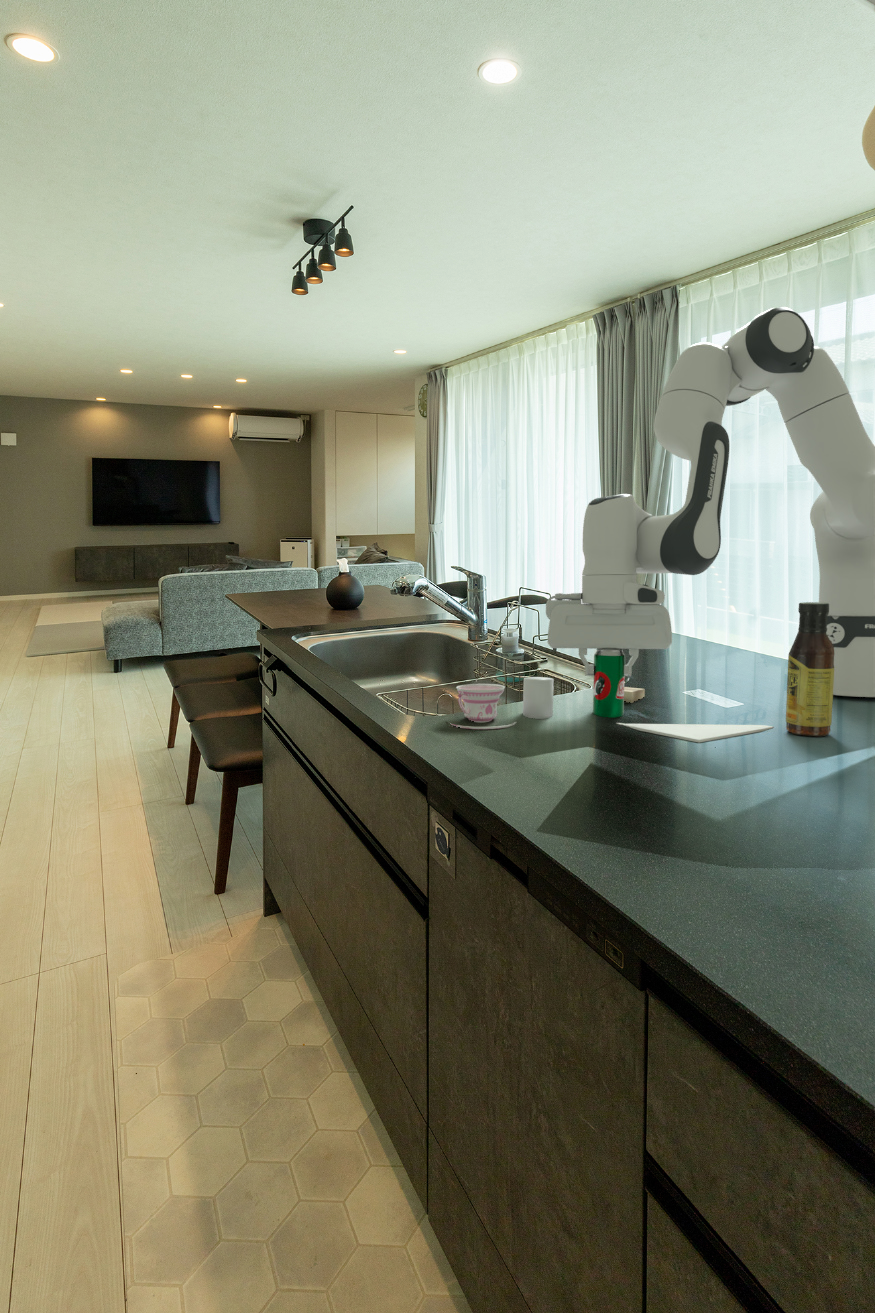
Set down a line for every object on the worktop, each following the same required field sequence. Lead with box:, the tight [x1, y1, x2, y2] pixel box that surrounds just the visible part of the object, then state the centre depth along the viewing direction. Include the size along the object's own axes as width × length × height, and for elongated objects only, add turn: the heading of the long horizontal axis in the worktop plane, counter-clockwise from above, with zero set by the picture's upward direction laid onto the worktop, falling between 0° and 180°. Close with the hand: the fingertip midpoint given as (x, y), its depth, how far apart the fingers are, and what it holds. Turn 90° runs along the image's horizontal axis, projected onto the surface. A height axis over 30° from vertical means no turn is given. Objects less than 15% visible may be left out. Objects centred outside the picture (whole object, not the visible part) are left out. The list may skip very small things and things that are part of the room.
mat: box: [616, 722, 774, 743], centre depth 118 cm, size 18×18×1 cm
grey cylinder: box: [522, 676, 555, 720], centre depth 124 cm, size 5×5×7 cm
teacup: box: [449, 683, 517, 730], centre depth 122 cm, size 12×12×6 cm
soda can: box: [592, 649, 626, 719], centre depth 124 cm, size 5×5×12 cm
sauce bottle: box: [785, 601, 834, 737], centre depth 111 cm, size 7×6×20 cm
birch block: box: [624, 686, 646, 704], centre depth 134 cm, size 5×5×4 cm
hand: (607, 675), depth 124 cm, fingers open, 5 cm apart
